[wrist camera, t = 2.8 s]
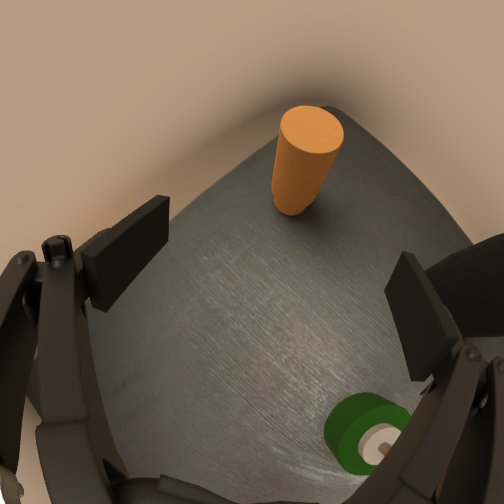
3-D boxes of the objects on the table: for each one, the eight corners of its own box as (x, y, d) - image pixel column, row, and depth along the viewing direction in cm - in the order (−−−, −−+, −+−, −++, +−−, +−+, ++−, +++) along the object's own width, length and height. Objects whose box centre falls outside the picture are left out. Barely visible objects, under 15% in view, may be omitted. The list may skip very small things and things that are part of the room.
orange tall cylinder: (269, 219, 30) (282, 151, 18) (269, 181, 31) (279, 103, 19) (312, 220, 30) (348, 156, 18) (309, 182, 31) (338, 108, 19)
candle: (316, 409, 25) (345, 445, 15) (383, 381, 26) (433, 399, 16) (331, 464, 23) (359, 509, 14) (393, 436, 24) (437, 466, 14)
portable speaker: (442, 347, 26) (568, 346, 8) (392, 315, 28) (533, 294, 9) (463, 287, 28) (577, 253, 9) (417, 252, 29) (536, 187, 10)
